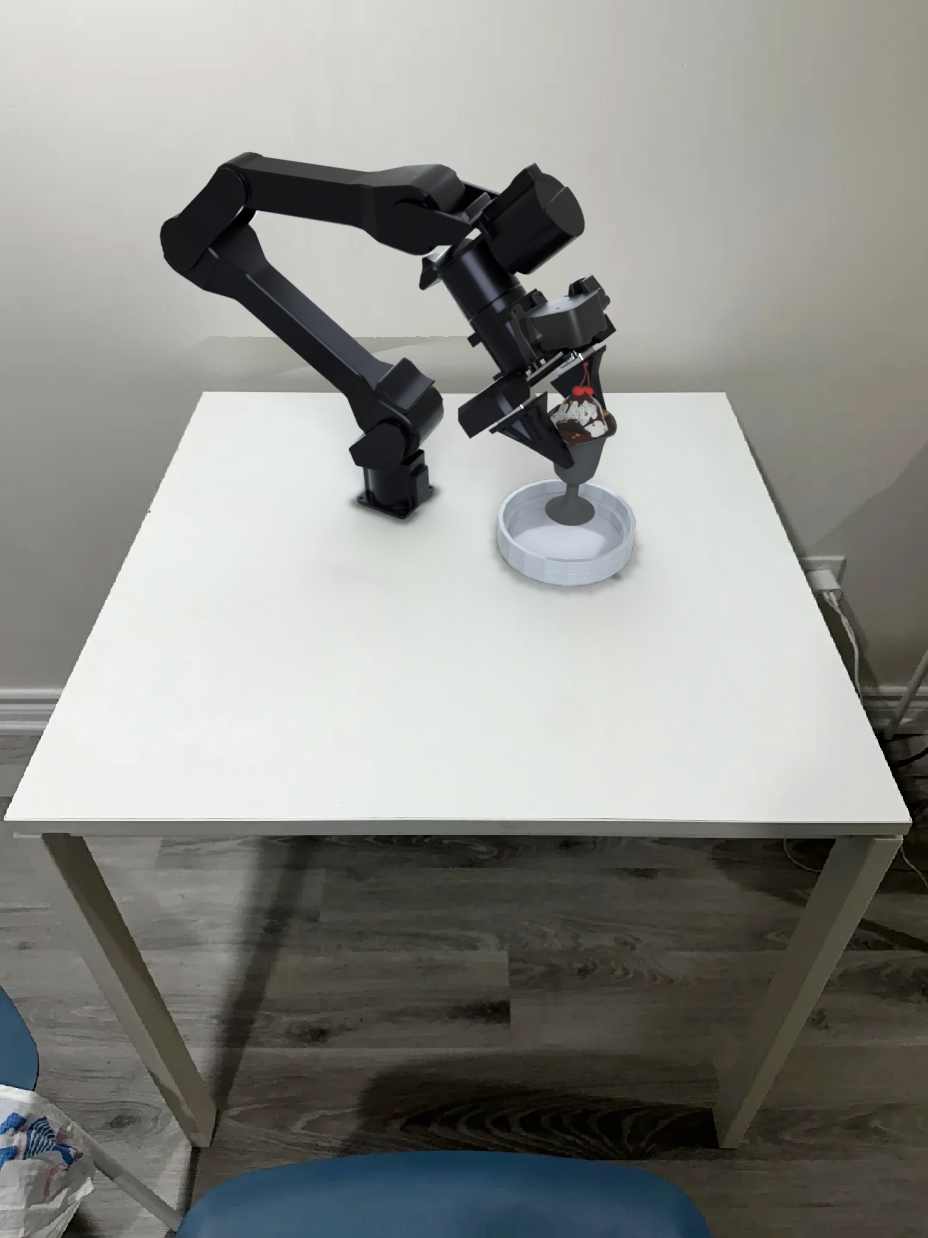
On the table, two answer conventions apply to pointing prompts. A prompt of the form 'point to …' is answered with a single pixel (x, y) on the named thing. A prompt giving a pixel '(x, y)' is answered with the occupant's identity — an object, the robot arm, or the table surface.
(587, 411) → the sundae
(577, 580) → the pan
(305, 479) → the table surface
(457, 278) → the robot arm
